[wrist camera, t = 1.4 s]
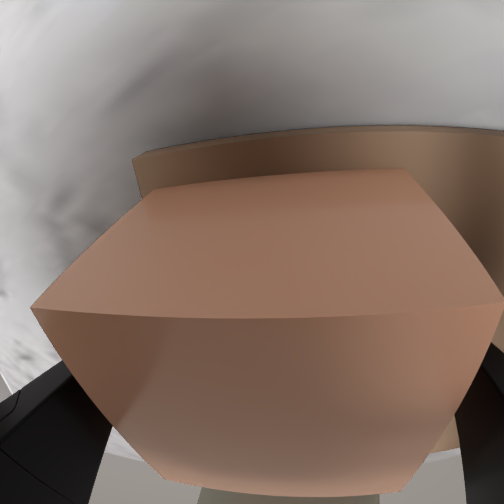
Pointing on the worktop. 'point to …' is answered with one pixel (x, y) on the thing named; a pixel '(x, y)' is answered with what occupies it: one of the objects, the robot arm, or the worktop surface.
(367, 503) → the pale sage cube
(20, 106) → the worktop surface
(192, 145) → the walnut board
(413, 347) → the salmon foam cube
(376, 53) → the worktop surface
